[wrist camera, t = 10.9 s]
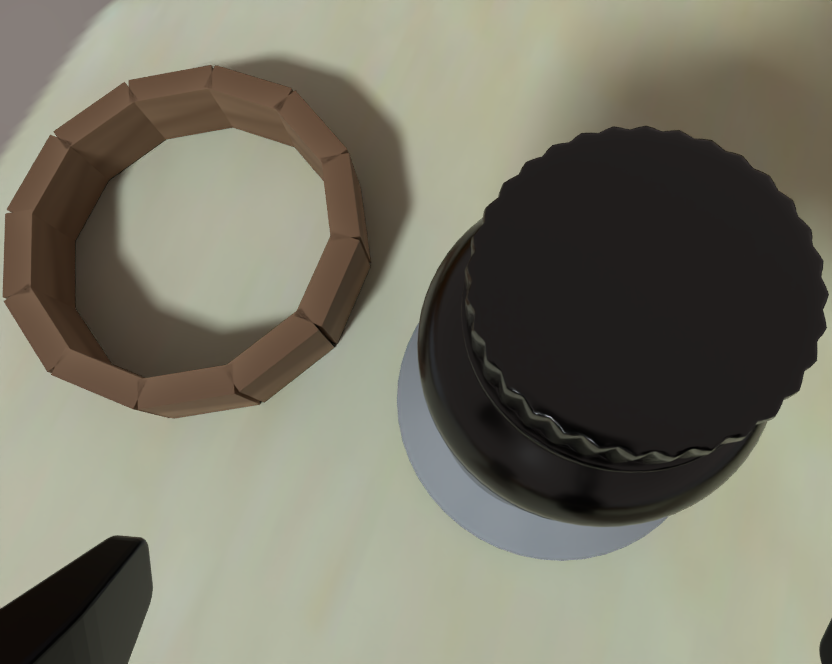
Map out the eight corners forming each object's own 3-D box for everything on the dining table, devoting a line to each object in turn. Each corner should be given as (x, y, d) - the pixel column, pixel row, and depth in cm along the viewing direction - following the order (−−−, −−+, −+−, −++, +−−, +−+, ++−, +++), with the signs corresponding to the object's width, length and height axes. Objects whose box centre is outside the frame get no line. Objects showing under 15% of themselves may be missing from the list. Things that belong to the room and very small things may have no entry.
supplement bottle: (586, 270, 21) (742, -10, 9) (691, 457, 19) (1053, 403, 7) (402, 354, 20) (322, 174, 9) (491, 551, 19) (538, 649, 7)
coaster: (726, 321, 21) (746, 308, 20) (645, 605, 19) (660, 615, 18) (459, 233, 23) (459, 215, 22) (358, 487, 21) (350, 486, 19)
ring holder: (416, 160, 24) (410, 124, 22) (284, 465, 21) (261, 462, 19) (142, 75, 26) (109, 33, 24) (-8, 344, 23) (-62, 327, 21)
